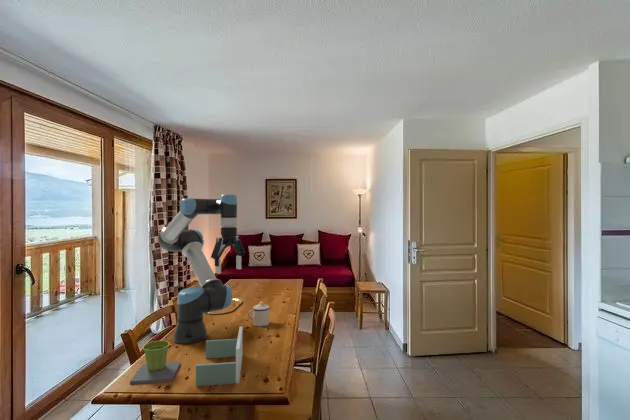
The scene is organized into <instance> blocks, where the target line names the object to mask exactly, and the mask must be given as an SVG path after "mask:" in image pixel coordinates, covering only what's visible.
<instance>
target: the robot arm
mask: <svg viewBox="0 0 630 420" xmlns="http://www.w3.org/2000/svg"><path fill="white" fill-rule="evenodd" d="M198 215H220V226H221V227H220V235H221V237H216V239H215V245H214V247H213V250H212V253H211V255H210V259H212V260H214V266H215V267H214V269H215V273H214V271H213V268H212V266H211V265H210V264H209V263H210V262H208V260H207V257H206V255H205V254H204V251H203V247H204V244H205V242H204V241H205V240H204V235H203V233H202V232H201V231H200V230H198V229H186V228H187V227H188V226H189V225H190V224H191V222H193V220H194V219H195V218H196V217H197V216H198ZM237 226H238V197H237V195H236V194H232V193H231V194H230V193H229V194H227V193H226V194H225V193H223V194H222V195H221V196H220V198H193V197H189V198H182V199H181V201H180V204H179V212H177V214H176V215H175V216H174V217H173V219H172V220H171V221H170V222H169V224H168V225H167V226H166V227H163V228H162V229H161V231H159V233H158V237H157V241H158V244H159V246H160V247H161V249H163V250H165V251H167V252H181V254H182V256H183V257H185V258H187V261H188V262H189V264H190V266H191V269H192V272H193V273H194V275H195V277H196V279H197V281H198V283H199V286H190V287H186V288H184V289H182V290H180V291H178V293H177V300H176V304H177V305H176V306H177V308H176V309H177V314H176V315H177V317H176V318H177V324H176V325H175V326H176V327H175V330H174V333H173V338H172V339H173V342H174V343H177V344H181V345H182V344H185V345H187V344H195V343H199V342H201V341H204V340H205V339H207V337H208V329H207V327H206V325H205V321H204V314H207V313H208V312H209V313H214V312H216V311H222V310H225V309H228V308H229V307H230V306H231V304H232V301H233V300H232V298H233V291H232V288H231V286H230V285H228V284H223V282H222V280H221V279H218V278H217V277H216V275H215V274H222V259H221V257H222V255H223V253H224V252H225V249H226V248H227V247H232V249H233V250H234V252H235V253H236V256H235V257H236V259H235V263H236V264H235V266H236V270H242V262H243V256H245V254H246V251H245V248H244V245H243V242H242V239H241V235H237V234H238V228H237Z"/></svg>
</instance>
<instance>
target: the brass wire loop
mask: <svg viewBox="0 0 630 420" xmlns="http://www.w3.org/2000/svg"><path fill="white" fill-rule="evenodd" d="M233 300H235V302H239V303H238V304H239V305H238V304H237V305H236V306H235V307H234V308H233V309H232V310H229V311H223V312H208V313H206V314H207V315H213V314H214V315H224V314H228V313H232V312H234V311H235V310H236V309H237V308H238V307H240V305H241V304H242V302H243V300H242V299H241V298H238V297H237V298H235V297H232V301H233Z"/></svg>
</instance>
